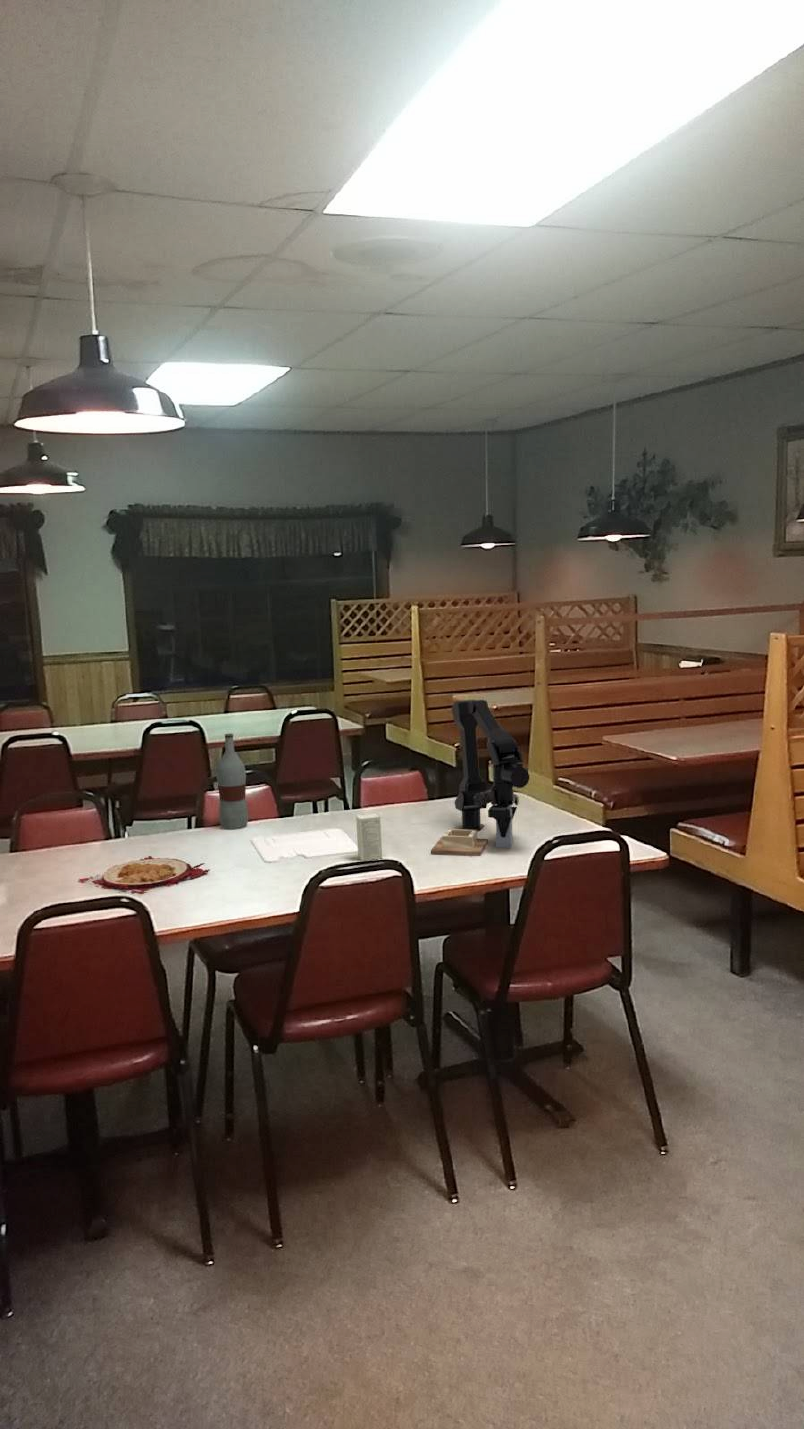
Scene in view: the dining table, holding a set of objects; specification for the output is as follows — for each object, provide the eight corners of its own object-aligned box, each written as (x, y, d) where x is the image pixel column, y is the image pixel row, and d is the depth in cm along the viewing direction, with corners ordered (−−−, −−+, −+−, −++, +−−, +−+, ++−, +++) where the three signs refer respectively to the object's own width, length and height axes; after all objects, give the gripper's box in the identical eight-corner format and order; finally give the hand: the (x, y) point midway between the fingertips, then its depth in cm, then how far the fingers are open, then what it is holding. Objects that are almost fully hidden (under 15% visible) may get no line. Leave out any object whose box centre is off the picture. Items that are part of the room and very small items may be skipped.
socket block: (441, 841, 283) (441, 826, 282) (488, 842, 279) (488, 827, 278) (430, 854, 269) (430, 838, 269) (480, 856, 266) (479, 840, 265)
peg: (498, 843, 278) (498, 809, 277) (512, 843, 277) (511, 809, 276) (496, 847, 274) (495, 812, 273) (510, 847, 273) (509, 813, 272)
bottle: (252, 822, 313) (247, 731, 309) (244, 830, 304) (238, 736, 300) (224, 822, 314) (219, 732, 310) (215, 830, 305) (209, 736, 301)
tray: (363, 854, 274) (363, 849, 274) (265, 865, 266) (265, 860, 265) (339, 831, 300) (339, 826, 300) (249, 841, 292) (249, 836, 292)
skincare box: (379, 855, 270) (377, 812, 269) (382, 859, 266) (381, 816, 264) (357, 857, 269) (355, 814, 267) (360, 861, 265) (358, 818, 263)
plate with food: (150, 862, 274) (149, 850, 273) (210, 874, 258) (209, 861, 258) (77, 885, 255) (76, 873, 255) (137, 900, 240) (136, 886, 239)
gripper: (480, 774, 284) (482, 826, 286) (469, 787, 267) (470, 842, 269) (518, 775, 282) (519, 827, 284) (509, 788, 264) (510, 844, 266)
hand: (504, 835), depth 276 cm, fingers open, 4 cm apart
